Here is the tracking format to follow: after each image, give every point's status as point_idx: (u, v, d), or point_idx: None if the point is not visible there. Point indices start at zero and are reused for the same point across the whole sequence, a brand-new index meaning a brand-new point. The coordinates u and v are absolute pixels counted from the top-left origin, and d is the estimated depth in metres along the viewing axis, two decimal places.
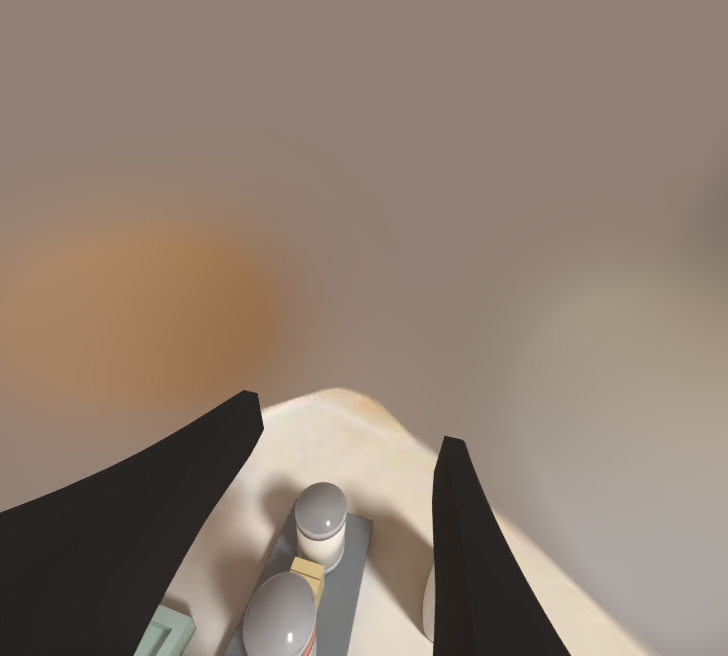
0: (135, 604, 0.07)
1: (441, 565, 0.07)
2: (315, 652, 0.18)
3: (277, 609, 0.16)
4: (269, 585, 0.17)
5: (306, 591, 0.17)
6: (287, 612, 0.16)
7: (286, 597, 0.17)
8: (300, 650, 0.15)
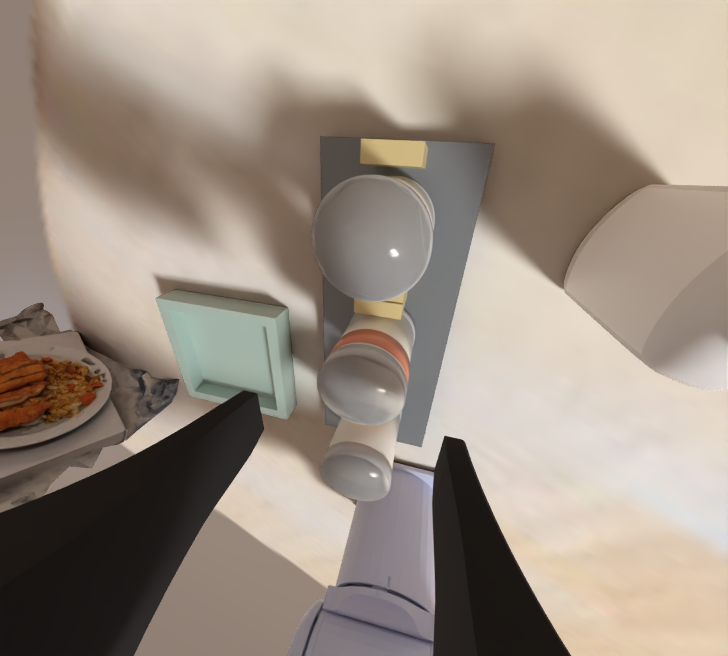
0: (135, 604, 0.07)
1: (441, 565, 0.07)
2: (414, 335, 0.16)
3: (353, 387, 0.12)
4: (331, 368, 0.12)
5: (384, 372, 0.11)
6: (367, 390, 0.12)
7: (359, 378, 0.12)
8: (395, 416, 0.13)
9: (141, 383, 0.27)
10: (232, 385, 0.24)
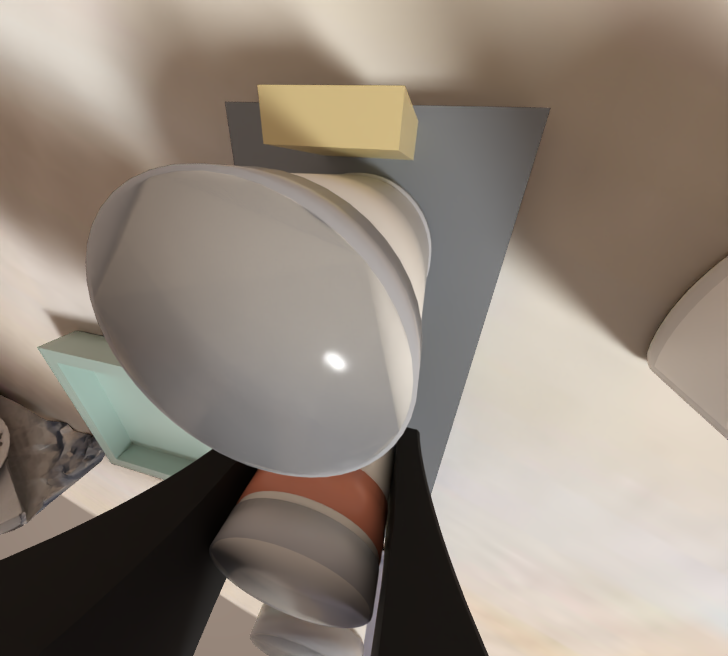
0: (187, 626, 0.07)
1: (386, 548, 0.08)
2: None
3: (275, 578, 0.06)
4: (228, 548, 0.06)
5: (327, 575, 0.06)
6: (299, 587, 0.06)
7: (282, 571, 0.06)
8: (356, 627, 0.07)
9: (59, 439, 0.21)
10: (167, 450, 0.19)
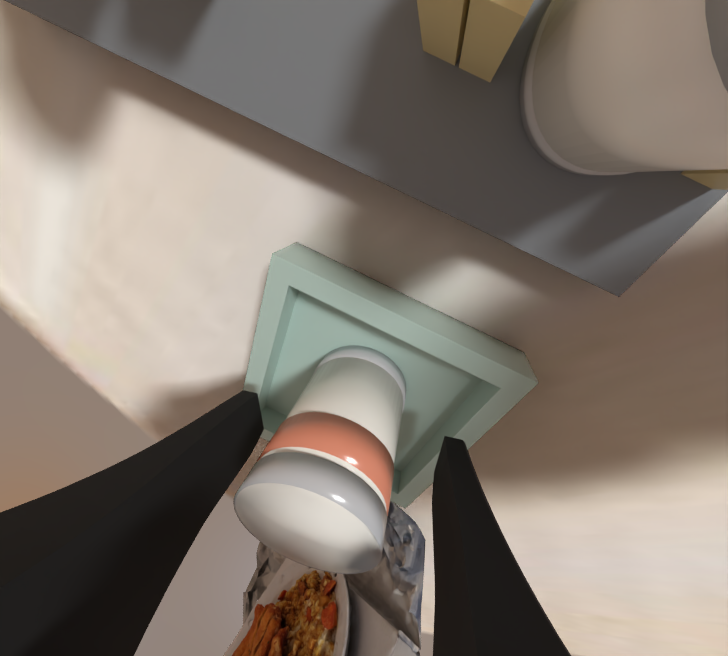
0: (135, 604, 0.07)
1: (441, 565, 0.07)
2: (403, 401, 0.11)
3: (293, 525, 0.07)
4: (253, 495, 0.07)
5: (343, 516, 0.06)
6: (316, 532, 0.07)
7: (301, 516, 0.07)
8: (365, 570, 0.07)
9: None
10: (420, 436, 0.13)
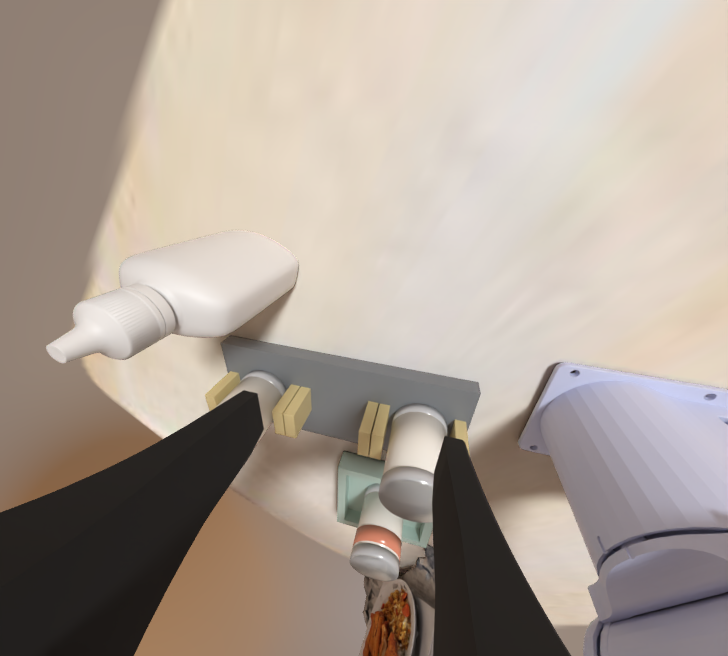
0: (135, 604, 0.07)
1: (441, 565, 0.07)
2: None
3: (369, 566, 0.23)
4: (355, 559, 0.23)
5: (381, 561, 0.22)
6: (376, 567, 0.22)
7: (370, 563, 0.22)
8: (396, 578, 0.22)
9: (425, 568, 0.32)
10: None
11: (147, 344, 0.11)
